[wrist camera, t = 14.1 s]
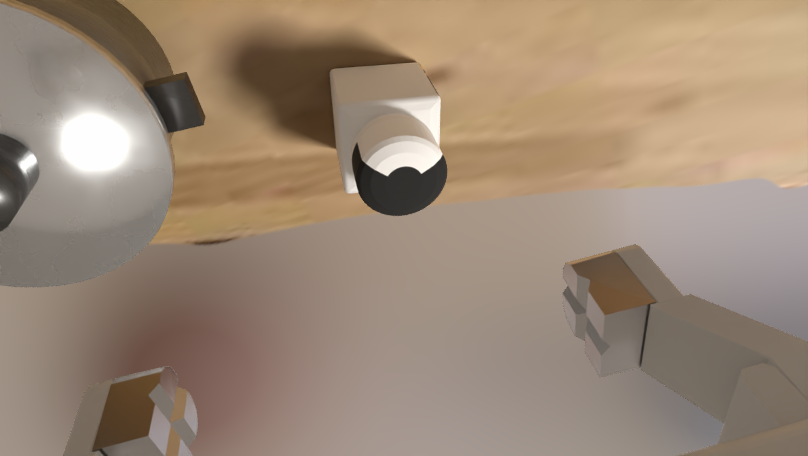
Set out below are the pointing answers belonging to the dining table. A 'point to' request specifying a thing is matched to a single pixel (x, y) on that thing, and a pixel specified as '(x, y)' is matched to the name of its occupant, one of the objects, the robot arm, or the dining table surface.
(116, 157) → the lid
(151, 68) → the pot
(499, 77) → the dining table surface
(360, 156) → the medicine bottle
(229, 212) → the dining table surface
